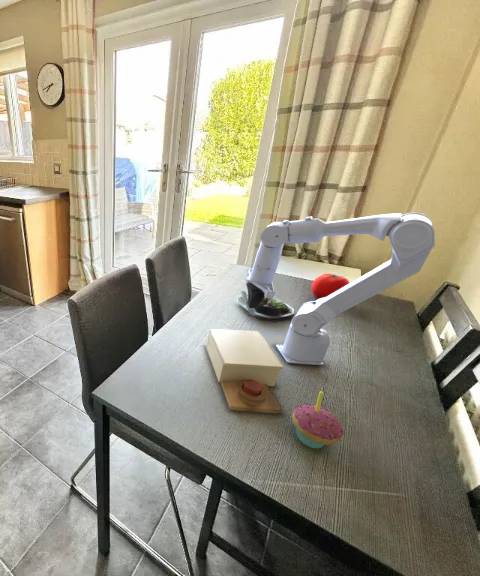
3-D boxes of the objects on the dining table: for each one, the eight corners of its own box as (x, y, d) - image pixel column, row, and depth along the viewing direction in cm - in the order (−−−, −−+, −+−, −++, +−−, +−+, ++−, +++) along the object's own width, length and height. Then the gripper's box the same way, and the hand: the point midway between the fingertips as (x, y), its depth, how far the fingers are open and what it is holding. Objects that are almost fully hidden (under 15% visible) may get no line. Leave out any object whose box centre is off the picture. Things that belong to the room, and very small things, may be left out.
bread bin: (274, 386, 77) (280, 368, 74) (218, 382, 78) (222, 364, 75) (253, 350, 90) (258, 333, 87) (206, 347, 91) (209, 331, 88)
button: (256, 385, 73) (258, 379, 73) (262, 396, 70) (263, 391, 69) (240, 384, 74) (242, 378, 73) (245, 395, 71) (247, 389, 70)
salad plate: (222, 297, 119) (224, 286, 117) (262, 292, 122) (265, 282, 120) (256, 324, 102) (259, 312, 100) (301, 317, 105) (305, 306, 103)
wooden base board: (265, 387, 76) (269, 378, 75) (279, 413, 69) (283, 404, 68) (220, 384, 77) (222, 375, 76) (229, 409, 70) (232, 400, 69)
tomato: (352, 305, 113) (363, 280, 108) (318, 305, 113) (327, 280, 108) (332, 291, 123) (341, 268, 118) (300, 291, 123) (308, 268, 118)
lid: (282, 369, 73) (283, 366, 73) (224, 365, 74) (224, 363, 74) (258, 333, 87) (258, 331, 87) (209, 330, 88) (209, 328, 88)
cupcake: (278, 422, 67) (294, 381, 62) (314, 419, 68) (333, 378, 62) (305, 459, 59) (326, 416, 54) (346, 456, 60) (370, 412, 55)
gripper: (241, 255, 92) (231, 294, 98) (260, 275, 79) (246, 319, 85) (266, 256, 91) (253, 295, 98) (288, 277, 78) (272, 321, 85)
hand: (252, 307), depth 91 cm, fingers closed
